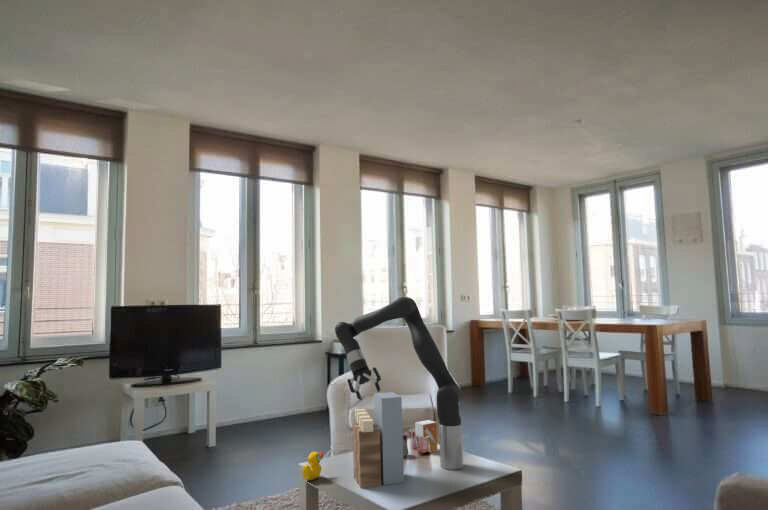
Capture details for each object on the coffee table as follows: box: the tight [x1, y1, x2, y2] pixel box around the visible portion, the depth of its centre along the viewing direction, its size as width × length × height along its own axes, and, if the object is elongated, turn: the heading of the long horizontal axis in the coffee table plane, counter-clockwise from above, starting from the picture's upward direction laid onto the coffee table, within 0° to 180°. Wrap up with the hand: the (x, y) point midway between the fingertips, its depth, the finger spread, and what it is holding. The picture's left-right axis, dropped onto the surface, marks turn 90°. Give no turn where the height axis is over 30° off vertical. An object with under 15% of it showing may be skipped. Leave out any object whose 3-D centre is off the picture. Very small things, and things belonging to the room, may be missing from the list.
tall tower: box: [373, 391, 405, 486], centre depth 197 cm, size 12×8×32 cm, turn 15°
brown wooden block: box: [352, 423, 382, 489], centre depth 194 cm, size 12×8×20 cm, turn 15°
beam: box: [354, 408, 374, 432], centre depth 198 cm, size 22×4×4 cm, turn 11°
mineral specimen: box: [403, 438, 409, 457], centre depth 225 cm, size 7×9×8 cm
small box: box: [414, 419, 438, 453], centre depth 231 cm, size 8×6×13 cm
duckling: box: [302, 451, 324, 481], centre depth 198 cm, size 11×5×10 cm, turn 150°
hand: (369, 395), depth 216 cm, fingers open, 8 cm apart
